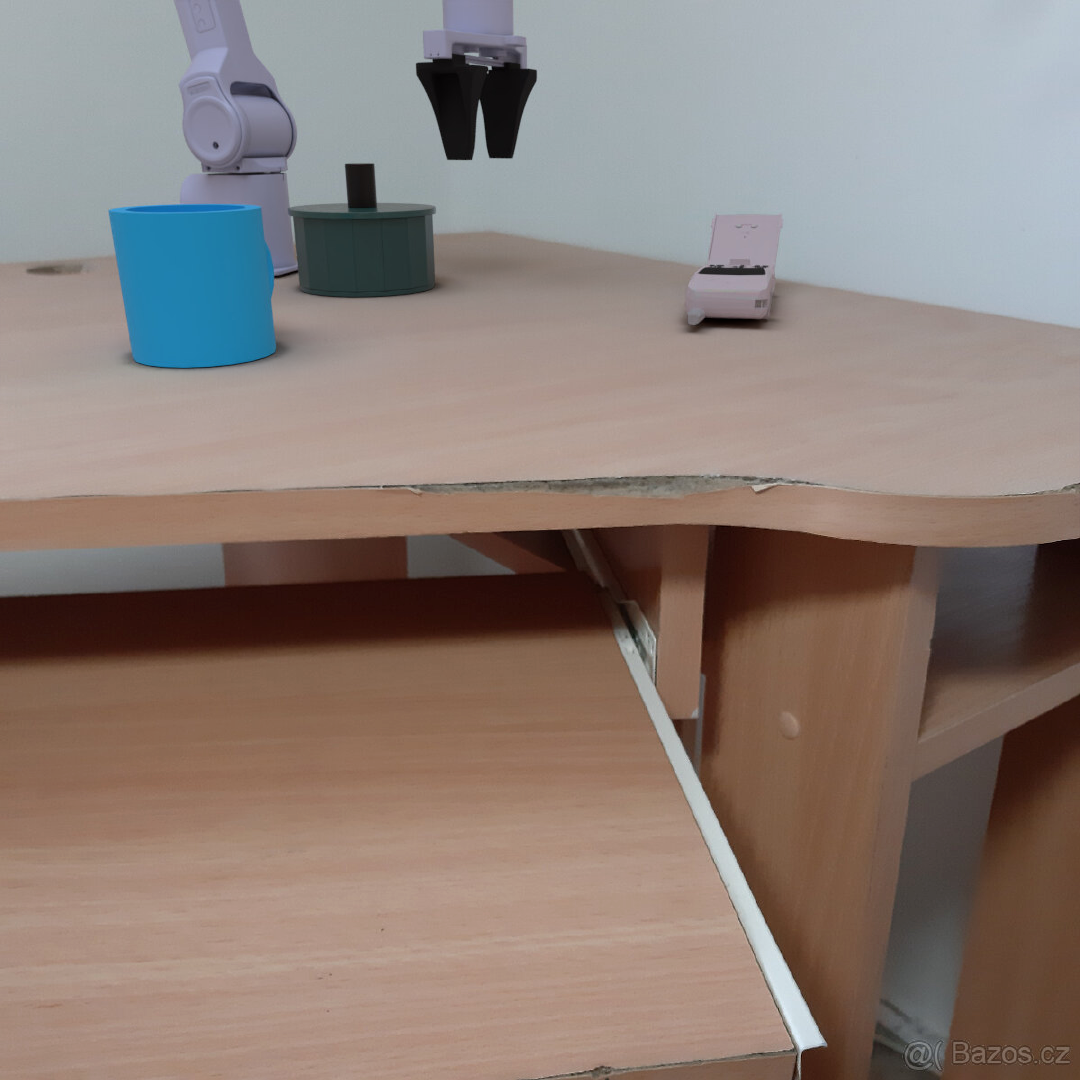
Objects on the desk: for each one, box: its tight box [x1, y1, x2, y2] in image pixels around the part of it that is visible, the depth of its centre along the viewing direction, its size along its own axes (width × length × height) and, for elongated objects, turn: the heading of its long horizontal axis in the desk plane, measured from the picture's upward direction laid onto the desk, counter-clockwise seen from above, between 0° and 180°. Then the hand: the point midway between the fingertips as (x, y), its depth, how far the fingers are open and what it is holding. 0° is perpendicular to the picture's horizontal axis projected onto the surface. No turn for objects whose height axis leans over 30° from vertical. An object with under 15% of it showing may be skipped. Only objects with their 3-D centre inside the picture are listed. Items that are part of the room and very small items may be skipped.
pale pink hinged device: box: [684, 213, 784, 326], centre depth 72 cm, size 6×6×25 cm
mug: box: [107, 203, 277, 369], centre depth 57 cm, size 12×8×8 cm
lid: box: [288, 162, 437, 219], centre depth 79 cm, size 12×12×4 cm
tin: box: [292, 215, 436, 298], centre depth 81 cm, size 11×11×6 cm
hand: (481, 159), depth 82 cm, fingers open, 7 cm apart
